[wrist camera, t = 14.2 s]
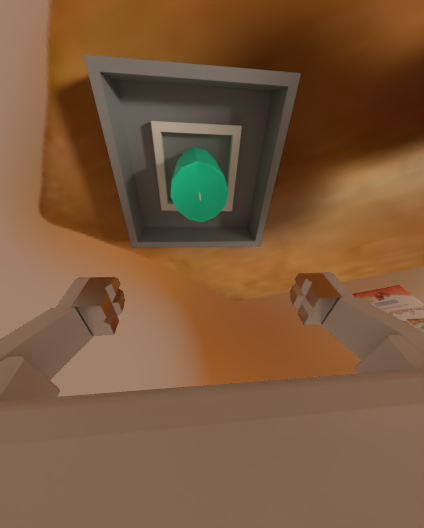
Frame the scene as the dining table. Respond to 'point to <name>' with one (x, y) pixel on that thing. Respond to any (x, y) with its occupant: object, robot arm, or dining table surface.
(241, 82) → the walled box
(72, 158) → the dining table surface
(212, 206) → the candle
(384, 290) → the cracker box
